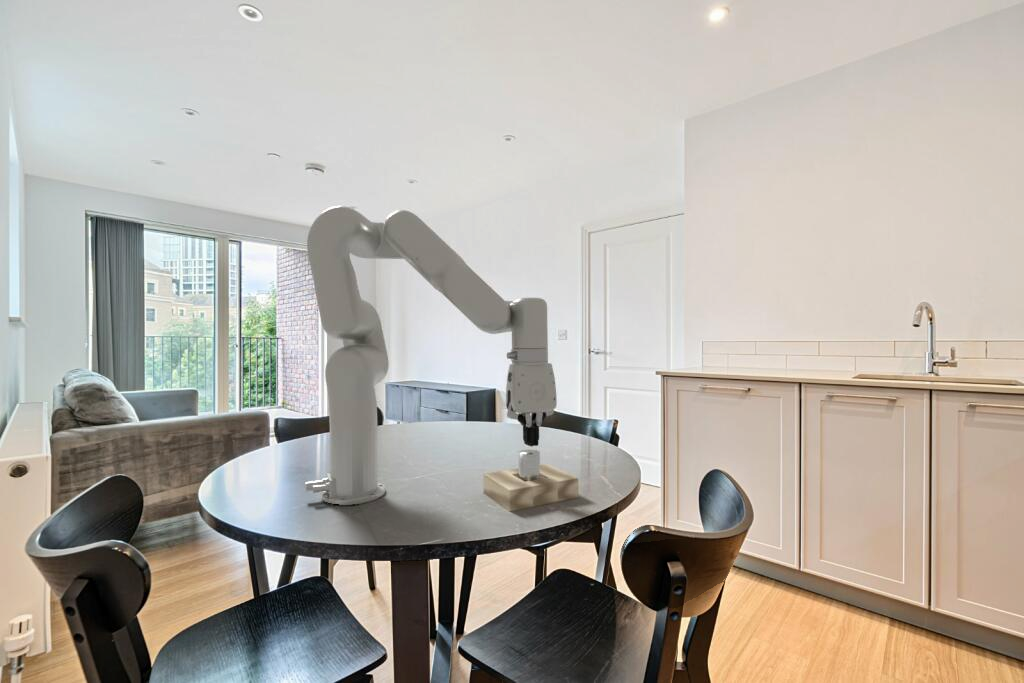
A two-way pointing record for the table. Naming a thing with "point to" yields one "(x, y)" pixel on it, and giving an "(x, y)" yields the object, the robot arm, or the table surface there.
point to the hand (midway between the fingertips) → (531, 444)
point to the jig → (530, 488)
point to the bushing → (529, 465)
